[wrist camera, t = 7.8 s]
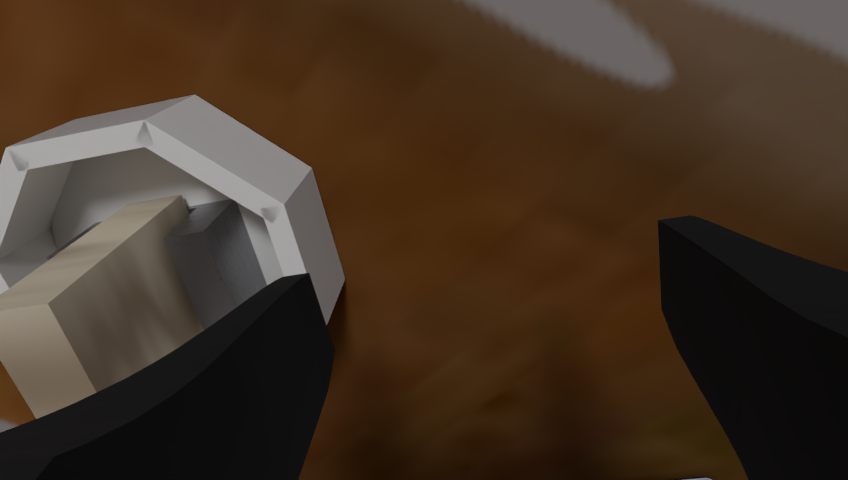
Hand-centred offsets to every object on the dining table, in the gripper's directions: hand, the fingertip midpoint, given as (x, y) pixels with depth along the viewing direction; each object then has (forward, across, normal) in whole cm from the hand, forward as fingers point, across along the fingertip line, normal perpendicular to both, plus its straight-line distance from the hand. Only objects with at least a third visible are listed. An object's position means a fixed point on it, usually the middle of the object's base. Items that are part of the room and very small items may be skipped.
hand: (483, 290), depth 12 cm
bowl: (+10, +12, +2) cm, 16 cm away
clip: (+10, +12, +2) cm, 16 cm away
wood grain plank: (+9, +12, +2) cm, 15 cm away
